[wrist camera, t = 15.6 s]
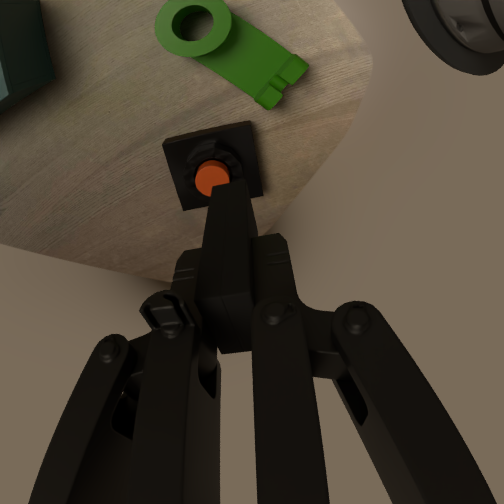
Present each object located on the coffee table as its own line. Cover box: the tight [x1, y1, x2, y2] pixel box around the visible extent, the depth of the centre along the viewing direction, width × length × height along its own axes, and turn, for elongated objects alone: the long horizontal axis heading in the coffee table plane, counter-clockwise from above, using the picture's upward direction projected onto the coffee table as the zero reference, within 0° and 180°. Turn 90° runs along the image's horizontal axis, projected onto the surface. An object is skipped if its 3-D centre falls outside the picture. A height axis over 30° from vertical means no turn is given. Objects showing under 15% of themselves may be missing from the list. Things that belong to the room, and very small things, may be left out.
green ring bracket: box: [155, 0, 309, 110], centre depth 24 cm, size 15×7×5 cm, turn 52°
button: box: [195, 160, 230, 196], centre depth 31 cm, size 4×4×2 cm
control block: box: [162, 121, 263, 211], centre depth 33 cm, size 10×9×4 cm
